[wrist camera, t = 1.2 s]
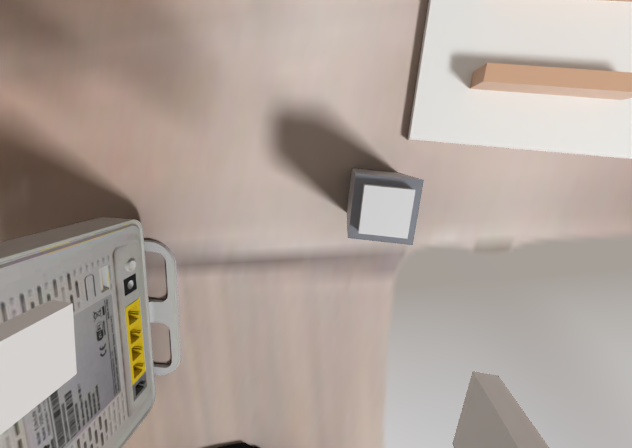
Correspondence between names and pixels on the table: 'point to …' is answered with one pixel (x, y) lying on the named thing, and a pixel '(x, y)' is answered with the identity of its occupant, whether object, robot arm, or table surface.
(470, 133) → the end holder
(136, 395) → the network device
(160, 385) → the table surface
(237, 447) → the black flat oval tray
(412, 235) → the connector plug
